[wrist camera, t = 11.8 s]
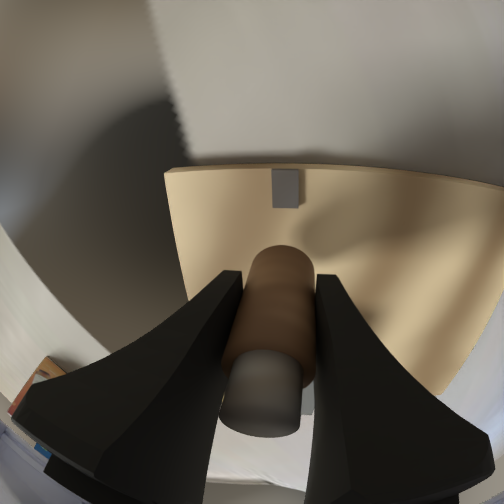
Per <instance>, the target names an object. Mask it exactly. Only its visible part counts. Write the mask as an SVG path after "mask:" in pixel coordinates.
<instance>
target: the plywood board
mask: <svg viewBox="0 0 504 504" xmlns="http://www.w3.org/2000/svg"><path fill="white" fill-rule="evenodd" d="M164 176H165V182H166V189H167V196H168V202H169V207H170V213H171V219H172V224H173V230H174V235H175V240H176V245H177V250H178V255H179V260H180V264H181V269H182V273H183V278H184V282H185V287H186V291H187V295H188V299H189V301H190V300H191V299H192V298H193V297H194V296H195V295H196V294H198V293H199V292H200V291H201V290H202V289H203V288H204V287H205V286H206V285H207V284H209V283H210V282H211V281H212V280H213V279H214V278H215V277H216V276H217V275H218V274H220V273H221V272H222V271H223V270H235V271H242V279H243V290H244V287H245V284H246V281H247V277H248V274H249V271H250V268H251V265H252V262H253V260H254V258H255V257H256V255H257V254H258V253H259V252H261V251H262V250H264V249H266V248H268V247H271V246H275V245H288V246H292V247H295V248H297V249H299V250H301V251H303V252H304V253H305V254H306V255H307V256H308V257H309V258H310V260H311V261H312V263H313V266H314V271H315V289H316V278H317V274H336V275H337V276H338V277H339V279H340V281H341V283H342V284H343V286H344V288H345V290H346V291H347V293H348V295H349V296H350V298H351V299H352V301H353V303H354V304H355V306H356V307H357V309H358V310H359V312H360V313H361V314H362V316H363V317H364V319H365V320H366V322H367V323H368V325H369V326H370V327H371V329H372V330H373V331H374V333H375V334H376V335H377V336H378V338H379V339H380V340H381V342H382V343H383V344H384V345H385V347H386V348H387V349H388V350H389V351H390V353H391V354H392V355H393V356H394V357H395V358H396V359H397V360H398V362H399V363H400V364H401V365H402V366H403V367H404V368H405V369H406V370H407V371H408V372H409V373H410V374H411V375H412V376H413V377H414V378H415V379H416V380H417V381H418V382H420V383H421V384H422V385H423V386H424V387H425V388H426V389H427V390H428V391H429V392H430V393H431V394H433V395H434V396H435V395H441V394H442V393H443V392H444V390H445V389H446V388H447V386H448V385H449V384H450V382H451V381H452V379H453V378H454V377H455V375H456V374H457V372H458V371H459V369H460V368H461V366H462V365H463V363H464V362H465V360H466V359H467V357H468V356H469V354H470V352H471V351H472V349H473V348H474V346H475V344H476V343H477V341H478V339H479V337H480V336H481V334H482V332H483V330H484V328H485V327H486V325H487V323H488V321H489V319H490V317H491V315H492V313H493V311H494V309H495V307H496V305H497V303H498V301H499V299H500V296H501V294H502V292H503V290H504V187H501V186H497V185H492V184H487V183H482V182H477V181H472V180H467V179H461V178H455V177H449V176H443V175H436V174H429V173H422V172H414V171H406V170H397V169H387V168H376V167H364V166H349V165H330V164H297V163H258V164H225V165H205V166H190V167H178V168H173V169H171V170H169V171H167V172H166V173H164Z"/></svg>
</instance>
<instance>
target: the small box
mask: <svg viewBox="0 0 504 504" xmlns="http://www.w3.org/2000/svg"><path fill="white" fill-rule="evenodd" d="M64 374H66V373H65V372H64V371H63V370H62V369H61V368H59V367H58V366H57V365H56V364H55V363H54V362H53V361H52V360H51V359H49V358H48V357H47V356H46V357H45V358H44V359H43V360H42V362H41V363H40V364H39V366H38V367H37V368H36V370H35V371H34V372H33V374H32V375H31V377H30V378H29V379H28V381H27V382H26V383H25V385H24V386H23V388H22V389H21V391H20V392H19V394H18V395H17V397H16V398H15V400H14V401H13V403H12V404H11V406H10V407H9V409H8V411H7V413H8V414H9V415H10V416H12V415H13V413H14V411H15V410H16V408H17V406H18V405H19V403H20V402H21V400H22V398H23V397H24V395H25V394H26V392H27V391H28V389H29V388H30V386H31V385H32V384H33V383H38V382H41V381H45V380H48V379H51V378H55V377H58V376H61V375H64Z"/></svg>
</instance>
